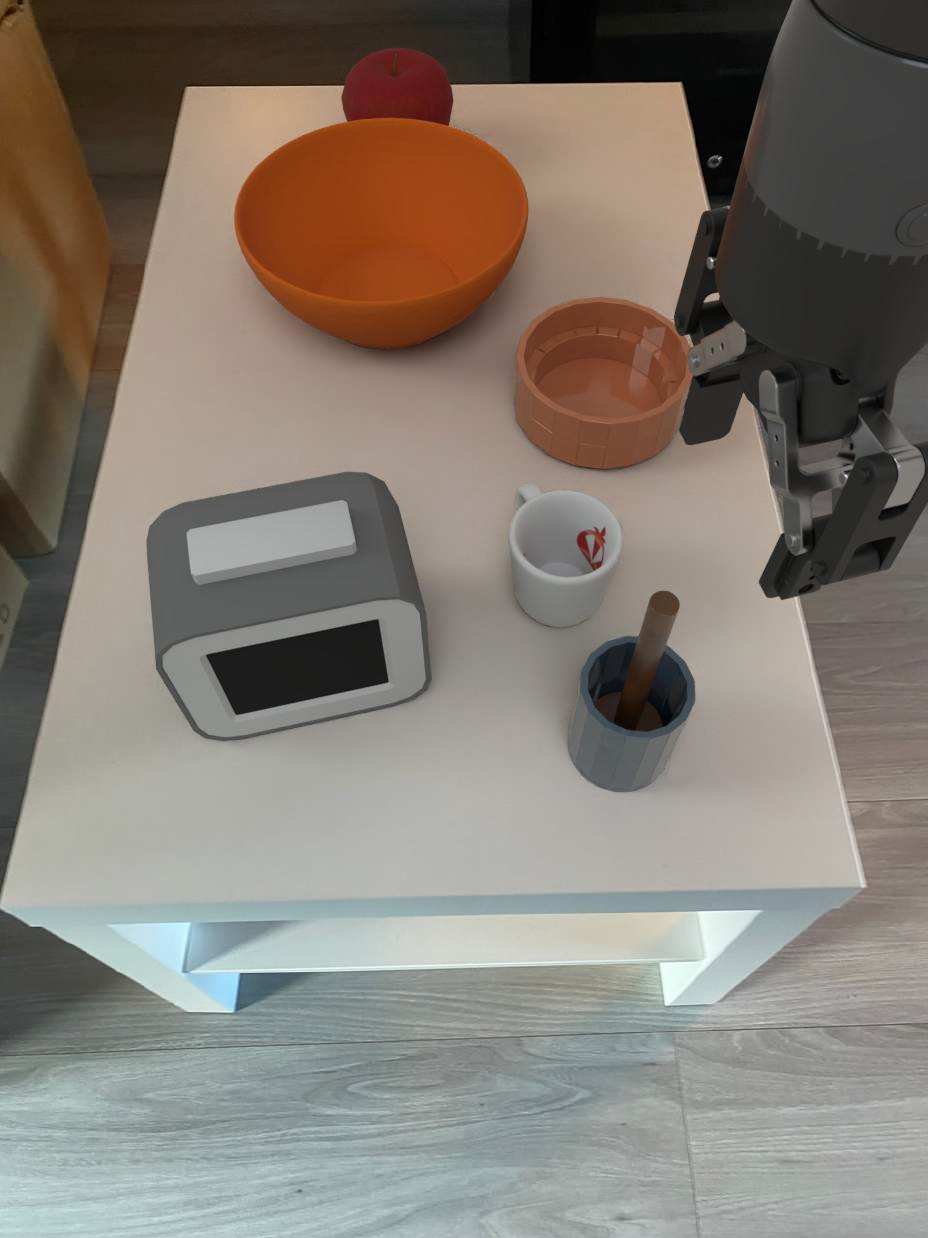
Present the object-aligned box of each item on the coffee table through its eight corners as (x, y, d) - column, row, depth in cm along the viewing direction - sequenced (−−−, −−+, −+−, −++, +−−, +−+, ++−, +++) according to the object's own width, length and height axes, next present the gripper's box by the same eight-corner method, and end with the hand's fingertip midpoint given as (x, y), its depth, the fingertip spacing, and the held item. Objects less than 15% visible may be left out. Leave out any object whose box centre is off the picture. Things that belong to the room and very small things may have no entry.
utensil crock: (684, 725, 67) (711, 664, 59) (646, 810, 63) (669, 757, 56) (592, 683, 68) (607, 619, 61) (551, 764, 65) (561, 707, 57)
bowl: (493, 415, 82) (495, 324, 73) (217, 370, 85) (188, 278, 76) (545, 230, 94) (552, 134, 86) (303, 197, 97) (287, 101, 89)
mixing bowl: (703, 383, 83) (718, 330, 78) (641, 496, 77) (653, 447, 72) (557, 331, 87) (562, 277, 82) (486, 435, 81) (487, 384, 75)
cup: (473, 546, 75) (473, 480, 68) (564, 513, 76) (573, 446, 69) (532, 656, 70) (539, 598, 63) (628, 619, 71) (645, 558, 64)
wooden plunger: (668, 726, 66) (728, 585, 50) (639, 789, 64) (693, 661, 48) (599, 695, 67) (637, 548, 52) (569, 755, 65) (599, 620, 49)
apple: (447, 132, 103) (445, 18, 93) (461, 193, 97) (459, 79, 87) (346, 141, 102) (332, 27, 92) (354, 203, 97) (340, 89, 87)
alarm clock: (203, 747, 66) (135, 635, 53) (189, 612, 72) (124, 480, 58) (432, 697, 68) (423, 577, 55) (401, 570, 74) (385, 432, 60)
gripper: (1146, 299, 24) (900, 623, 38) (877, 15, 31) (752, 376, 45) (880, 356, 23) (727, 668, 37) (664, 50, 30) (603, 408, 44)
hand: (741, 507), depth 41 cm, fingers open, 8 cm apart
